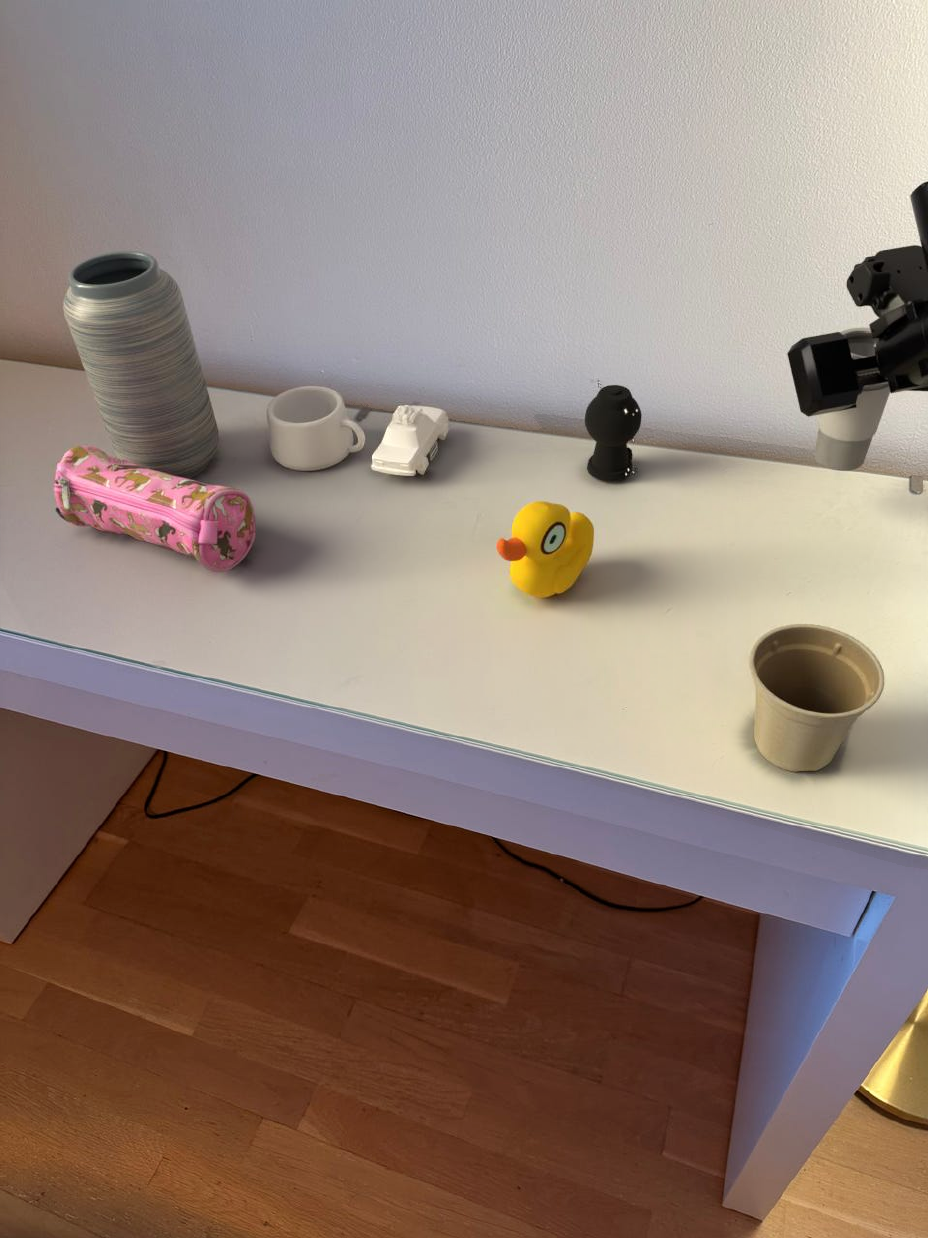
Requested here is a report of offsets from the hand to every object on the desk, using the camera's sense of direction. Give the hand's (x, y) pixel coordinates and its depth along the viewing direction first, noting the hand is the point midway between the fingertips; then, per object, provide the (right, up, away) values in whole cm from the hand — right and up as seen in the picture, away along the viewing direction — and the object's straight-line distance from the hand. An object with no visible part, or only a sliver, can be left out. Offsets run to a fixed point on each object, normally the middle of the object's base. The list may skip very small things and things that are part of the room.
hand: (846, 389), depth 87 cm
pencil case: (-67, -13, +10) cm, 69 cm away
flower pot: (-10, -31, -13) cm, 35 cm away
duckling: (-28, -19, +2) cm, 34 cm away
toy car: (-42, -3, +19) cm, 46 cm away
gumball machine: (-20, -5, +15) cm, 25 cm away
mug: (-52, -2, +21) cm, 56 cm away
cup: (+1, -6, +4) cm, 7 cm away
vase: (-69, -3, +21) cm, 73 cm away
